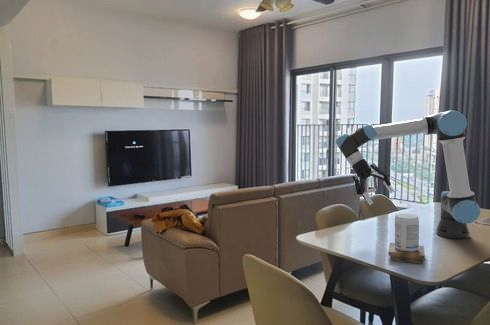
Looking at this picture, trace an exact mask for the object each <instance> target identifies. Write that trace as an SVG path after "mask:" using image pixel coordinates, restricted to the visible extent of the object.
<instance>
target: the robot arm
mask: <svg viewBox="0 0 490 325" xmlns="http://www.w3.org/2000/svg"><path fill="white" fill-rule="evenodd" d="M466 118H467V117H466V116H465V115H464V114H463V113H462V112H459V111H457V110H451V109H450V110H446V111H439V112H437V113H434V114H431V115H426V116H422V117H421V118H420V119H412V120H405V121H399V122H393V123H385V124H378V125H372V124H371V123H367V124H366V125H363V127H358V128H357V129H356V130H355V131H354V132H353V133H352V134H350V135H349V134H348V133H344V134H342V135H340V136H339V137H338V138H336V140H335V144H336V146H337V147H338V149H339V151H340V152H341V154H342V155H343V156H344V158H345V160H346V161H347V162H348V164H349V166H351V168H352V169H353V172H355V174H356V175H353V176H352V179H353V181H354V186H355V192H356V194H357V196H359V195H361V196H362V198H363V199H364V200H365V201H367V203H368V205H369V206H371V205H372V204H374V201H373V200H372V198H371V197H370V195H369V193H368V192H367V191H366V180H368V178H370V177H373V178H376V179H379V180H382V183H383V185H384V186H385V187H386V189H387V190H388V192H389V194H392V193H394V192H395V190H394V188H393V187H392V183H391V181H390V180H389V177H390V174H389V172H387V171H385V170H383V169H381V168H380V167H378V165H376V163H371V164H370V165H369V163H368V162H367V160H366V158H364V156H363V154H362V153H361V151H360V150H359V148H360V147H362V146H363V145H366V144H367V143H369V142H371V141H378V140H384V139H392V138H399V137H408V136H413V135H421V134H423V135H426V136H427V135H428V136H429V135H437V140H438V142H439V143H441V145H442V151H443V156H444V157H443V158H444V163H445V170H446V175H447V181H448V187H449V188H448V189H449V191H448V190H447V191H444V190H443V191H442V192H441V194H440V220H439V221H438V224H437V227H436V229H435V230H436V232H435V233H436V235H437V236H441V237H444V238H448V239H458V240H459V239H460V240H463V239H464V240H465V239H468V238H470V230H469V227H468V224H471V223H474V222H475V221H477V220H479V218H480V216H481V207H480V205H479V204H478V203H477V201H476V195H475V194H476V193H475V192H474V191H472V190H471V187H470V182H469V181H470V180H469V174H468V167H467V162H466V161H467V159H466V154H465V153H466V152H465V148H464V140H465V138H467V136H466V129H467V126H468V122H467V121H468V120H467V119H466ZM372 170H373V171H372Z"/></svg>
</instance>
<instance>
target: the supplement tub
mask: <svg viewBox="0 0 490 325" xmlns="http://www.w3.org/2000/svg"><path fill="white" fill-rule="evenodd" d="M419 233H420V221H419V216H418V215H416V214H413V213H396V214H395V216H394V243H395V247H396V248H397V249H398V250H401V251H407V252H408V251H409V252H413V251H417V250H418V249H419V245H420V243H419V242H420V234H419Z"/></svg>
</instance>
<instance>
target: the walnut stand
mask: <svg viewBox="0 0 490 325" xmlns="http://www.w3.org/2000/svg"><path fill="white" fill-rule="evenodd" d="M387 254H388V256H392V257H391V260H392V261H395V262H403V263H411V264H419V265H420V264H421V262H422V261H421V260H426V254H425V246H424V245H420V244H419V249H418V250H417V251H413V252H409V251H408V252H407V251H401V250H398V249H397V248H396V247H395V242H389V246H388V253H387Z"/></svg>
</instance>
